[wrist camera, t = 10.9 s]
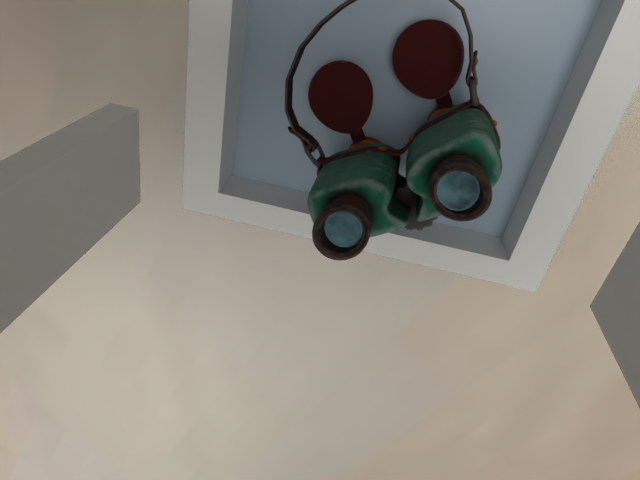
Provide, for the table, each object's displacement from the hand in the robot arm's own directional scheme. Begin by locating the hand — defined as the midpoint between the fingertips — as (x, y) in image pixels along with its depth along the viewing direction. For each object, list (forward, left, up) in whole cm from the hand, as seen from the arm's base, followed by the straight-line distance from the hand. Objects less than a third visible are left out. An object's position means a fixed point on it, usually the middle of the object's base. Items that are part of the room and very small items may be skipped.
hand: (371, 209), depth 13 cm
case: (0, 0, -15) cm, 15 cm away
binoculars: (0, 0, -14) cm, 14 cm away
